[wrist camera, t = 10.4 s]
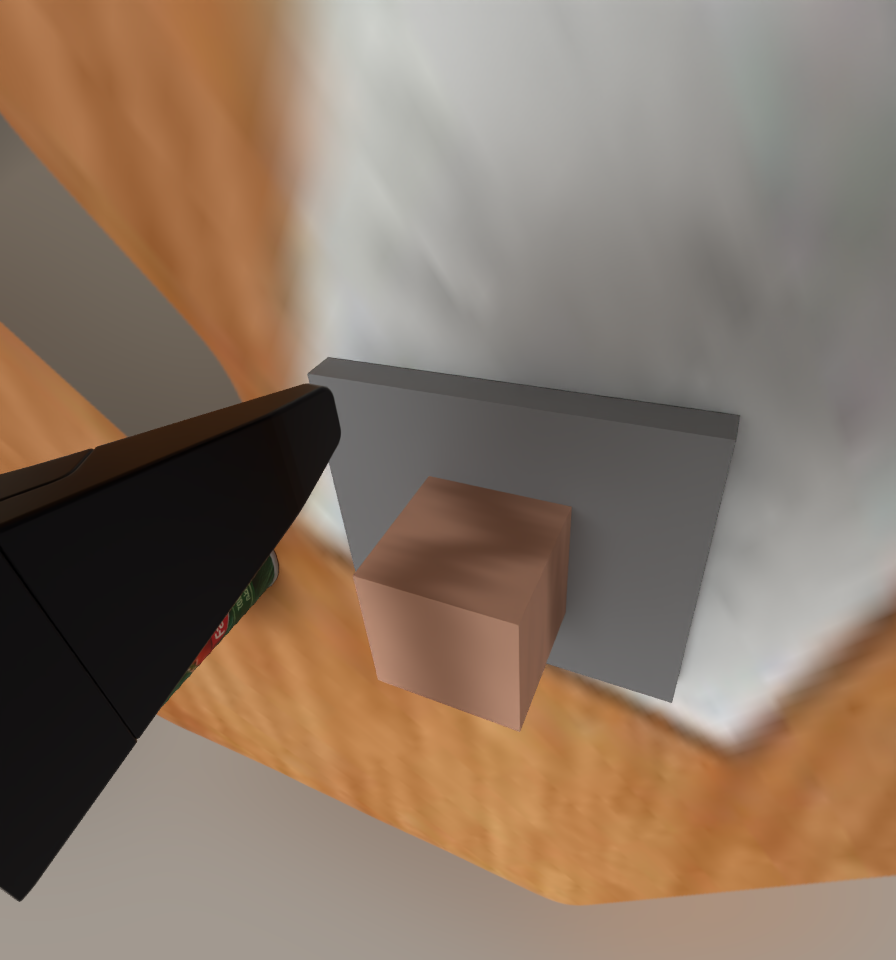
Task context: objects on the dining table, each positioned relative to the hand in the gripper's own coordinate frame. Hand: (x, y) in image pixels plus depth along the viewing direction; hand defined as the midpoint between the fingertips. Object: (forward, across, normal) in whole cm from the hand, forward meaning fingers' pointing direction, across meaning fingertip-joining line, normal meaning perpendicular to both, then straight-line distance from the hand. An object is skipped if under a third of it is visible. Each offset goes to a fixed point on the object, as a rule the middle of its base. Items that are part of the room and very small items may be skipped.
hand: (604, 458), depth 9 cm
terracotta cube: (+10, +6, +13) cm, 18 cm away
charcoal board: (+12, +6, +13) cm, 19 cm away
